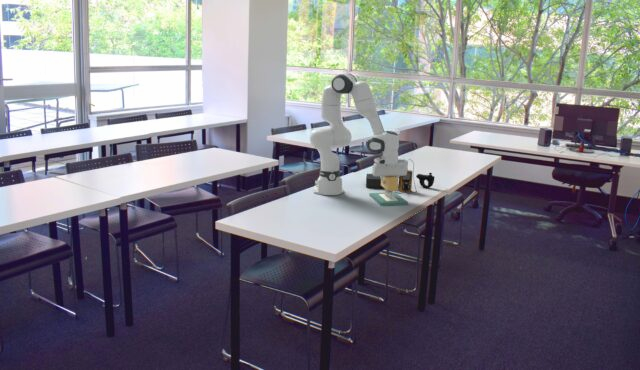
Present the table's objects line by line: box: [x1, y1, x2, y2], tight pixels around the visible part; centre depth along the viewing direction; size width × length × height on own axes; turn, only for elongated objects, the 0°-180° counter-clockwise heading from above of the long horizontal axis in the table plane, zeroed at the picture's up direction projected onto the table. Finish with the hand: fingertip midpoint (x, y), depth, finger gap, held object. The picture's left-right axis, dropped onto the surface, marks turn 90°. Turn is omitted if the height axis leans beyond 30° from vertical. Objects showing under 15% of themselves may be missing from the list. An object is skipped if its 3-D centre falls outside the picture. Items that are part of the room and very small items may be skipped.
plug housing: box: [381, 176, 399, 192], centre depth 330 cm, size 14×6×7 cm, turn 12°
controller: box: [416, 172, 435, 189], centre depth 362 cm, size 4×12×10 cm, turn 47°
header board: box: [368, 189, 409, 207], centre depth 332 cm, size 22×16×6 cm
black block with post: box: [365, 154, 385, 190], centre depth 364 cm, size 19×17×20 cm
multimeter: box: [394, 158, 417, 195], centre depth 347 cm, size 15×10×20 cm
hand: (389, 183), depth 330 cm, fingers closed on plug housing, 6 cm apart
